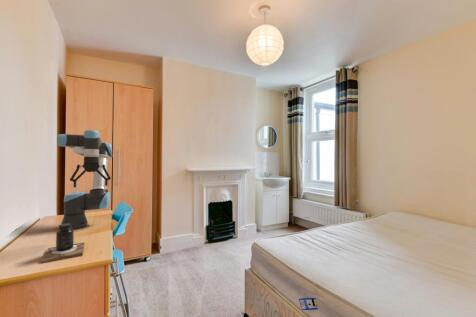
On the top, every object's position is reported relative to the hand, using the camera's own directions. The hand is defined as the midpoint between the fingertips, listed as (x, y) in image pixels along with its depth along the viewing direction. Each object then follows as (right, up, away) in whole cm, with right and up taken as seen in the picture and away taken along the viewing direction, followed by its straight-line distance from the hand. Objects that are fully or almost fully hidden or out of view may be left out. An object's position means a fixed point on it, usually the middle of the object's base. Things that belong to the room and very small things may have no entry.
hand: (91, 192), depth 131 cm
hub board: (+2, -27, -22) cm, 35 cm away
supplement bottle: (+2, -25, -22) cm, 33 cm away
